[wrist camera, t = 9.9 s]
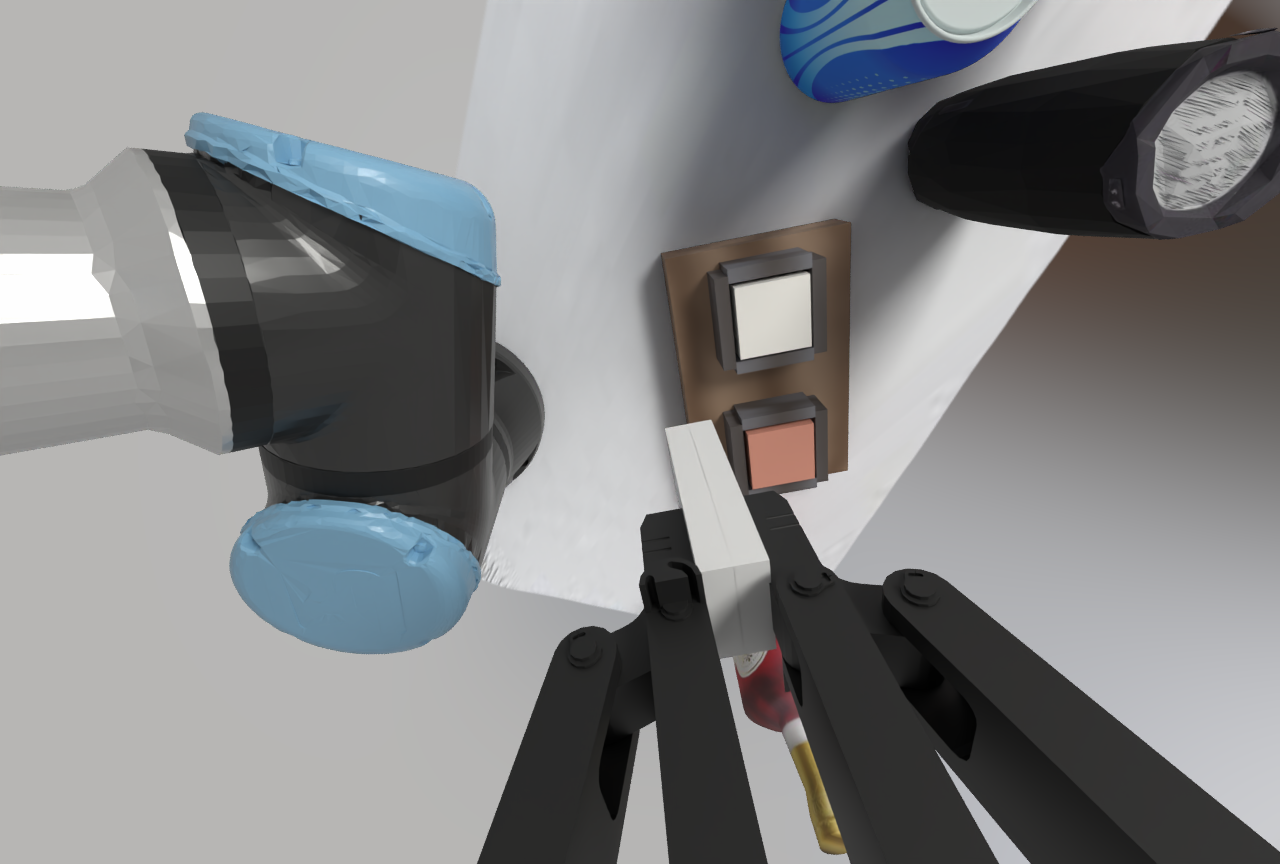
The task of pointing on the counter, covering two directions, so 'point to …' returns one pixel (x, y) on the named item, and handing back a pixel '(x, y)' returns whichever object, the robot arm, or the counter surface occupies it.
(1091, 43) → the counter surface
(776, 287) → the off-white key
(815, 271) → the key panel
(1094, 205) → the black tapered cylinder
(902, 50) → the blue striped container
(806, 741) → the liquor
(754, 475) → the brick-red key
